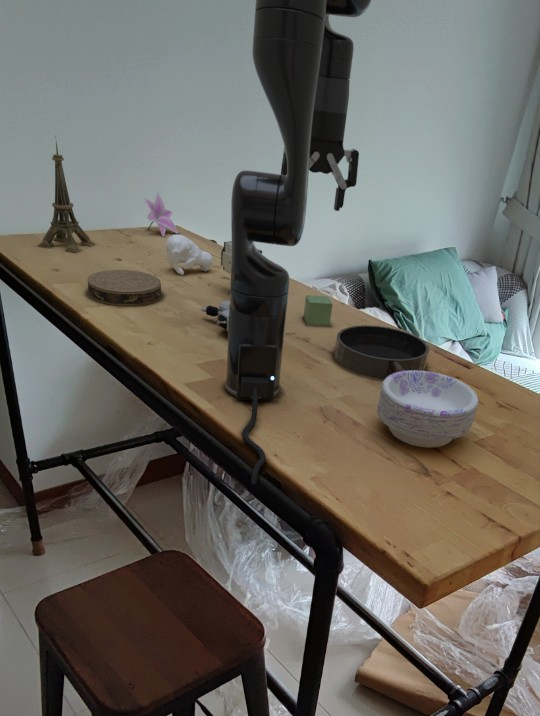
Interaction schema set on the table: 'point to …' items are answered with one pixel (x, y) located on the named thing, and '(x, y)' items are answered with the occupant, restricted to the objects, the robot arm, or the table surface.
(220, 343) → the table surface
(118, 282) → the wood log slice
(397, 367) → the pan handle
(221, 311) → the robot toy
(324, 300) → the cube
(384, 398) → the paper bowls
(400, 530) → the table surface
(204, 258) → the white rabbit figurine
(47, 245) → the eiffel tower
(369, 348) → the pan
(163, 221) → the lily
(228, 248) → the pneumatic valve
